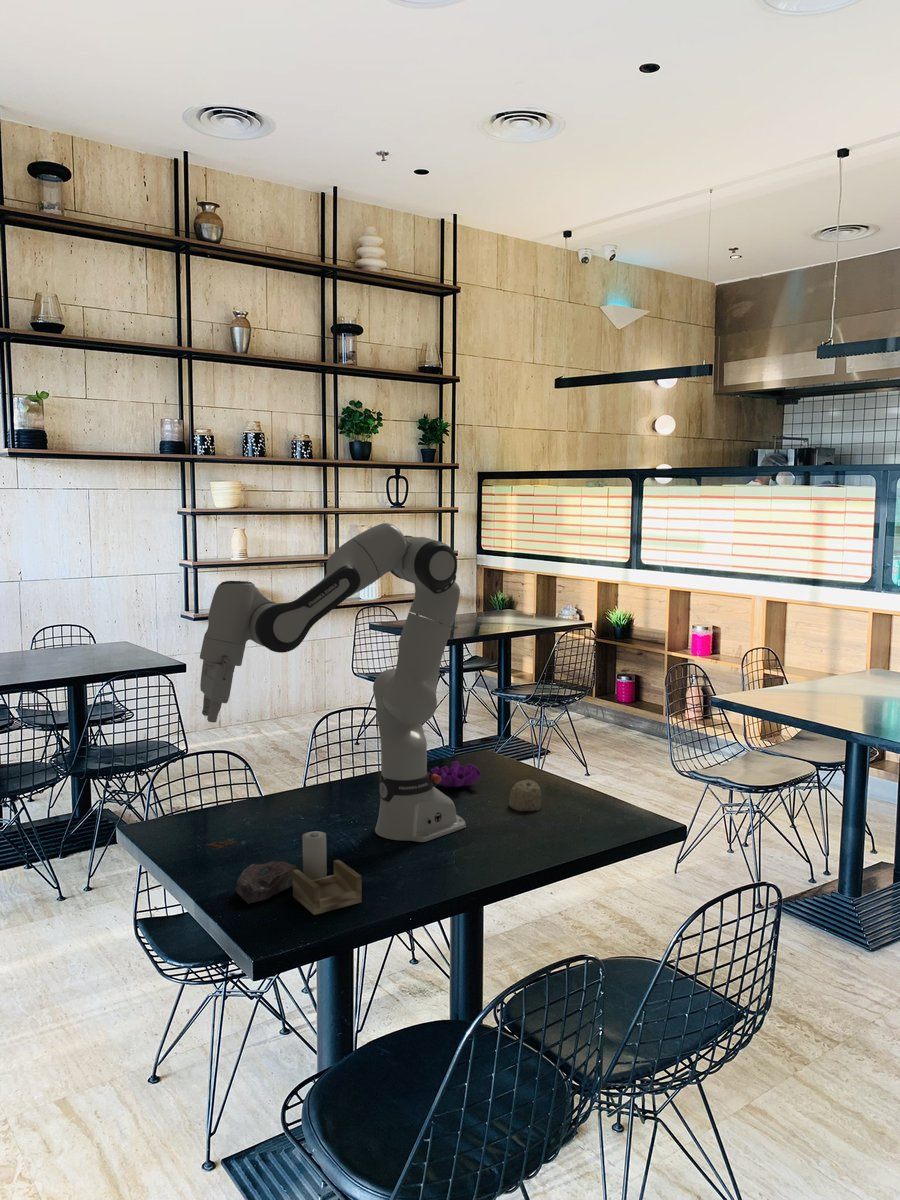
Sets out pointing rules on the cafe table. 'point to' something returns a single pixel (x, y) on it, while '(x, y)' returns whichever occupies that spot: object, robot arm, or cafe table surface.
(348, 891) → the holder
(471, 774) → the purple coral
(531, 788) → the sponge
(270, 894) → the rock
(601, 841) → the cafe table surface
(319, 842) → the roll
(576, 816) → the cafe table surface
